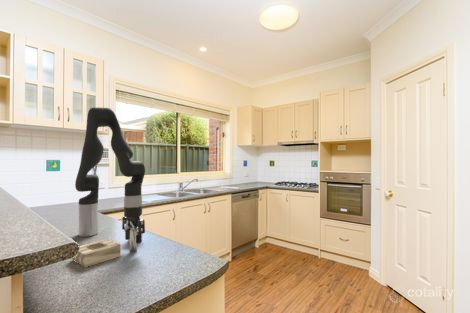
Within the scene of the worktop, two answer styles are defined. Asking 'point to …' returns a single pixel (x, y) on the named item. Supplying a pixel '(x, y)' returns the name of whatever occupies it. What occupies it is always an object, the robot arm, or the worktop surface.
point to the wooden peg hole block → (97, 252)
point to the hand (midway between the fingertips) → (133, 241)
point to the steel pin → (133, 241)
